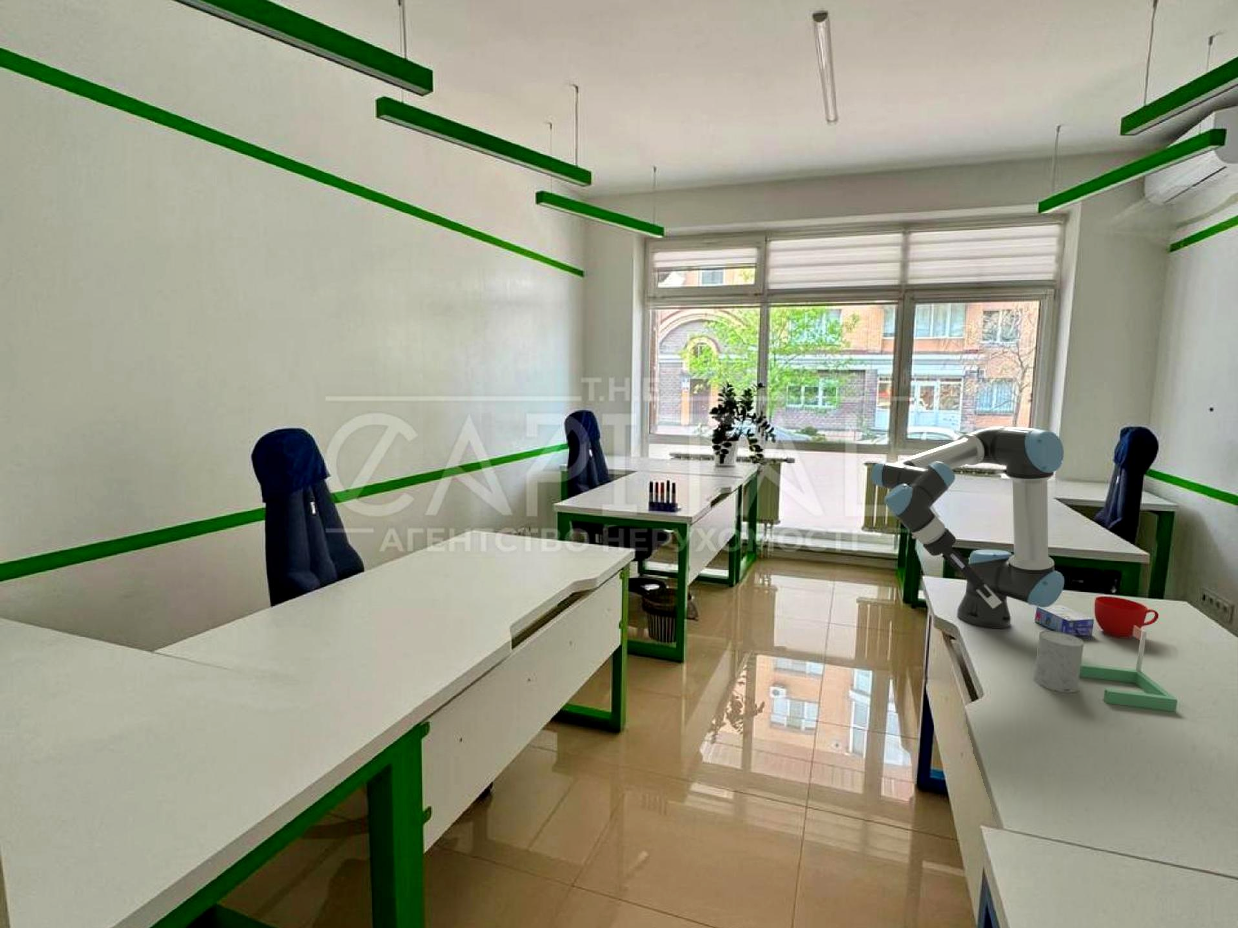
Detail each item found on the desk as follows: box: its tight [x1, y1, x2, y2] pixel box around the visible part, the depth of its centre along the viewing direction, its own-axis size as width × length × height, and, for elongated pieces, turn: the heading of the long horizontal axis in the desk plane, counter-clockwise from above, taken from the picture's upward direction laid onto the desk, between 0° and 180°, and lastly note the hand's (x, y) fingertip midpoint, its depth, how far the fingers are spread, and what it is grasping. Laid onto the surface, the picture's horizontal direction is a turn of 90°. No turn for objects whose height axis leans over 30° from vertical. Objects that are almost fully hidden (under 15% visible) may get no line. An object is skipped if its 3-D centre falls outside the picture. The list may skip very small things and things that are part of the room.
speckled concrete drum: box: [1032, 630, 1085, 694], centre depth 165 cm, size 10×10×12 cm
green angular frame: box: [1079, 625, 1178, 713], centre depth 163 cm, size 20×14×14 cm
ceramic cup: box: [1093, 595, 1159, 639], centre depth 200 cm, size 13×17×10 cm
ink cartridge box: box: [1034, 605, 1095, 637], centre depth 202 cm, size 10×6×14 cm
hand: (996, 604), depth 166 cm, fingers closed
